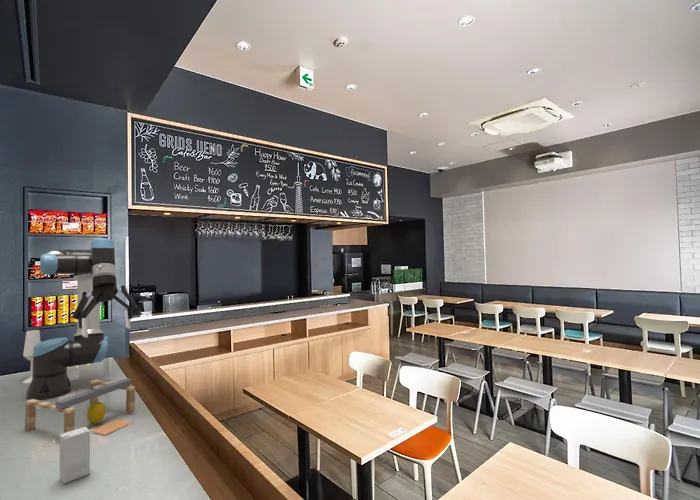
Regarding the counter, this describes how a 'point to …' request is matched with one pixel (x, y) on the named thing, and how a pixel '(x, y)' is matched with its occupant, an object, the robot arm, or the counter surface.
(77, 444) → the skincare box
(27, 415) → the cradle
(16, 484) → the counter surface
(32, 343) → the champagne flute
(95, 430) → the pad
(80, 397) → the bar
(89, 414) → the lemon
